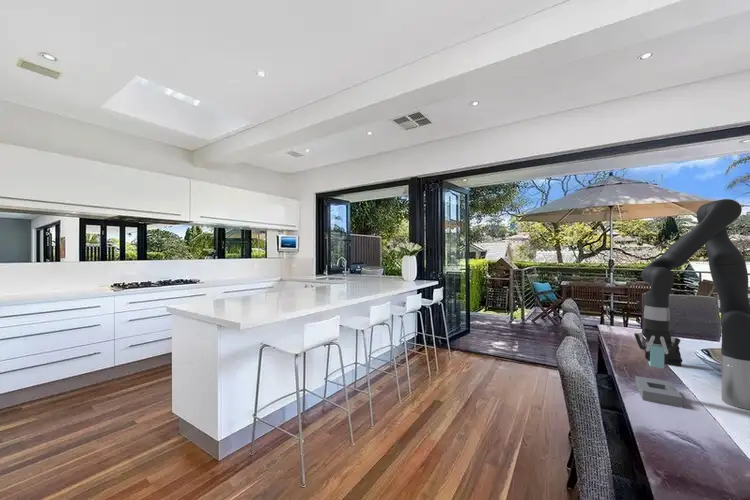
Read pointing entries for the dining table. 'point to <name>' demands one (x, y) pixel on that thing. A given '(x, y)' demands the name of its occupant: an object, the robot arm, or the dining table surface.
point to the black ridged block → (673, 355)
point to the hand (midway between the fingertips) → (656, 361)
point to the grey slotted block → (658, 391)
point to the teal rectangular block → (656, 356)
